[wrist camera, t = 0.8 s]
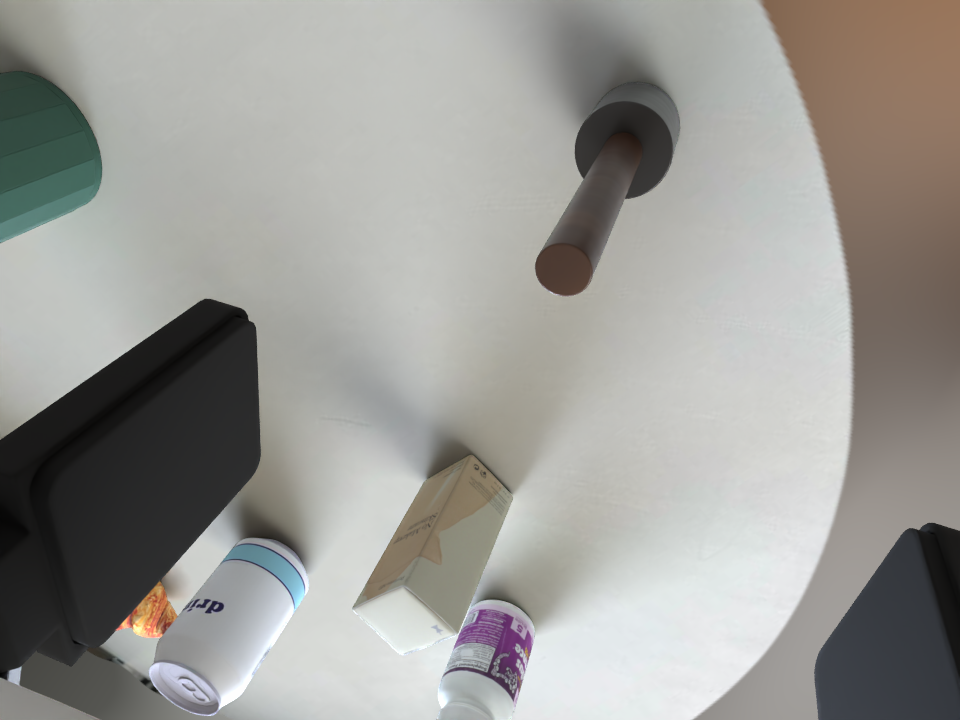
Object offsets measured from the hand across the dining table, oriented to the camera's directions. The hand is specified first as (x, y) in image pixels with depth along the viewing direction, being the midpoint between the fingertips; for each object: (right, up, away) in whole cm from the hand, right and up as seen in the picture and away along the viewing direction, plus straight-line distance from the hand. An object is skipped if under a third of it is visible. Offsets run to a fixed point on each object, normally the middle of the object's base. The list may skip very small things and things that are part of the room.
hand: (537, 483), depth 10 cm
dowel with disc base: (+6, +12, +22) cm, 26 cm away
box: (-2, -7, +37) cm, 38 cm away
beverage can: (-17, -15, +48) cm, 53 cm away
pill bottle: (+1, -18, +43) cm, 47 cm away
